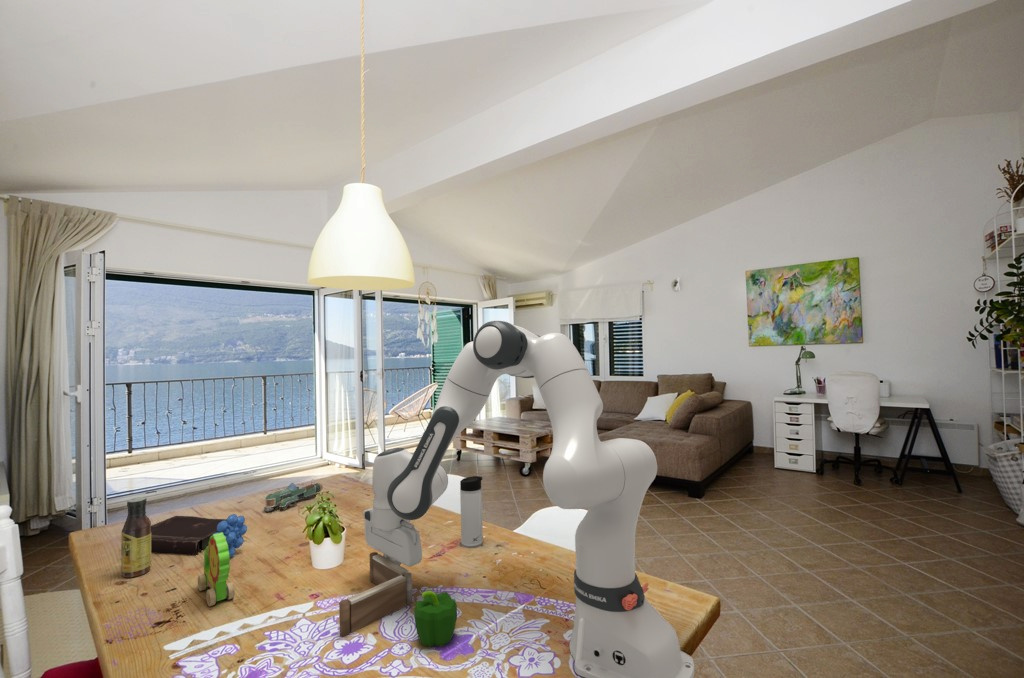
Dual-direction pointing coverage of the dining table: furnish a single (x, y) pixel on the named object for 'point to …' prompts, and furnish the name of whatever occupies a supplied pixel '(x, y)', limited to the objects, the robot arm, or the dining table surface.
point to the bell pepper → (435, 618)
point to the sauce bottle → (136, 540)
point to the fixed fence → (374, 604)
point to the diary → (182, 535)
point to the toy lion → (216, 570)
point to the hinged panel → (384, 569)
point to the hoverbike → (291, 496)
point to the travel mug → (471, 512)
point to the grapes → (233, 532)
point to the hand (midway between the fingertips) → (393, 572)
